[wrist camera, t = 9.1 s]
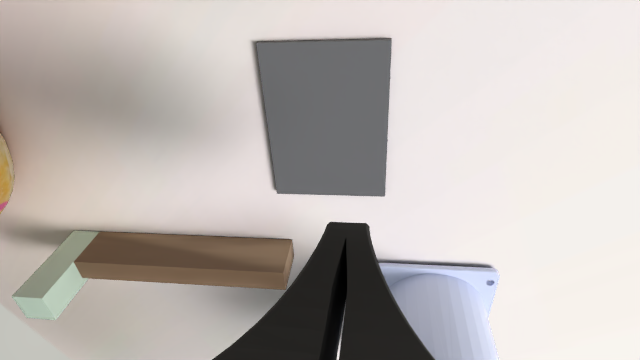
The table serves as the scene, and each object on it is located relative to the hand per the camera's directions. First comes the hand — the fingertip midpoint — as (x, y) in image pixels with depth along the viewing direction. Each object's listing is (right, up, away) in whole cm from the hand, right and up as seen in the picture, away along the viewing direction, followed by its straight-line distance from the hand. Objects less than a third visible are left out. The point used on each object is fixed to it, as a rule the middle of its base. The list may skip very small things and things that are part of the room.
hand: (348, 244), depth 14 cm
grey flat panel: (-1, +5, +8) cm, 10 cm away
